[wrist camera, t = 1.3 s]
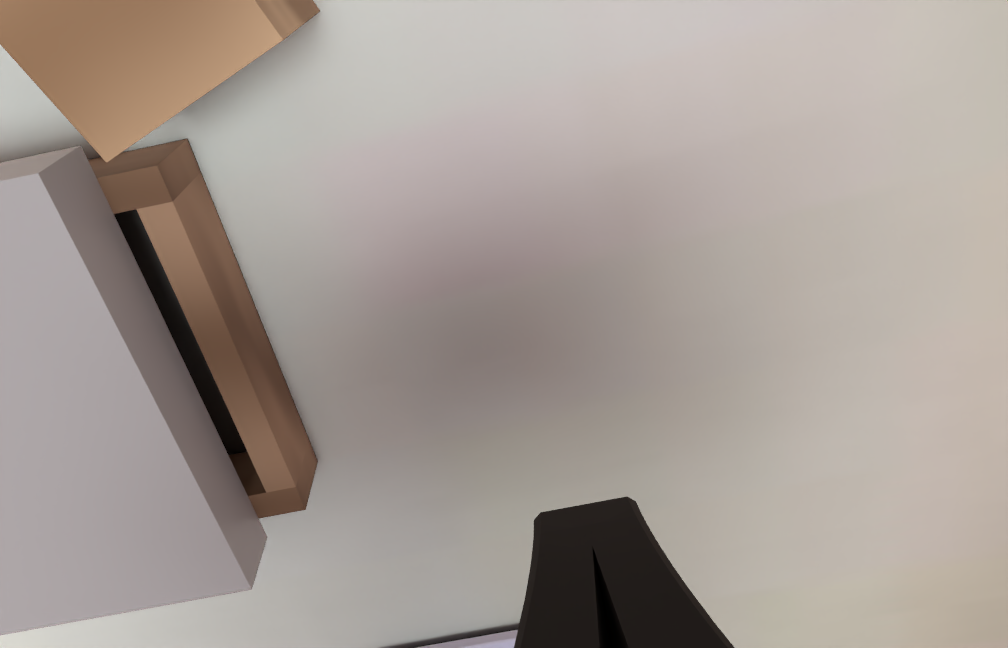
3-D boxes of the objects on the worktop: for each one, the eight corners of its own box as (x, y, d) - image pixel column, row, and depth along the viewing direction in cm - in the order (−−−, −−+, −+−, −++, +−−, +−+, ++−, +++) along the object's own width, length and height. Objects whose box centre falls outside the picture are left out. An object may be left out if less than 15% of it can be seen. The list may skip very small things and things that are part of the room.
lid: (267, 537, 21) (251, 589, 19) (-12, 589, 21) (-50, 644, 20) (80, 145, 15) (37, 173, 14) (-288, 224, 16) (-371, 260, 14)
